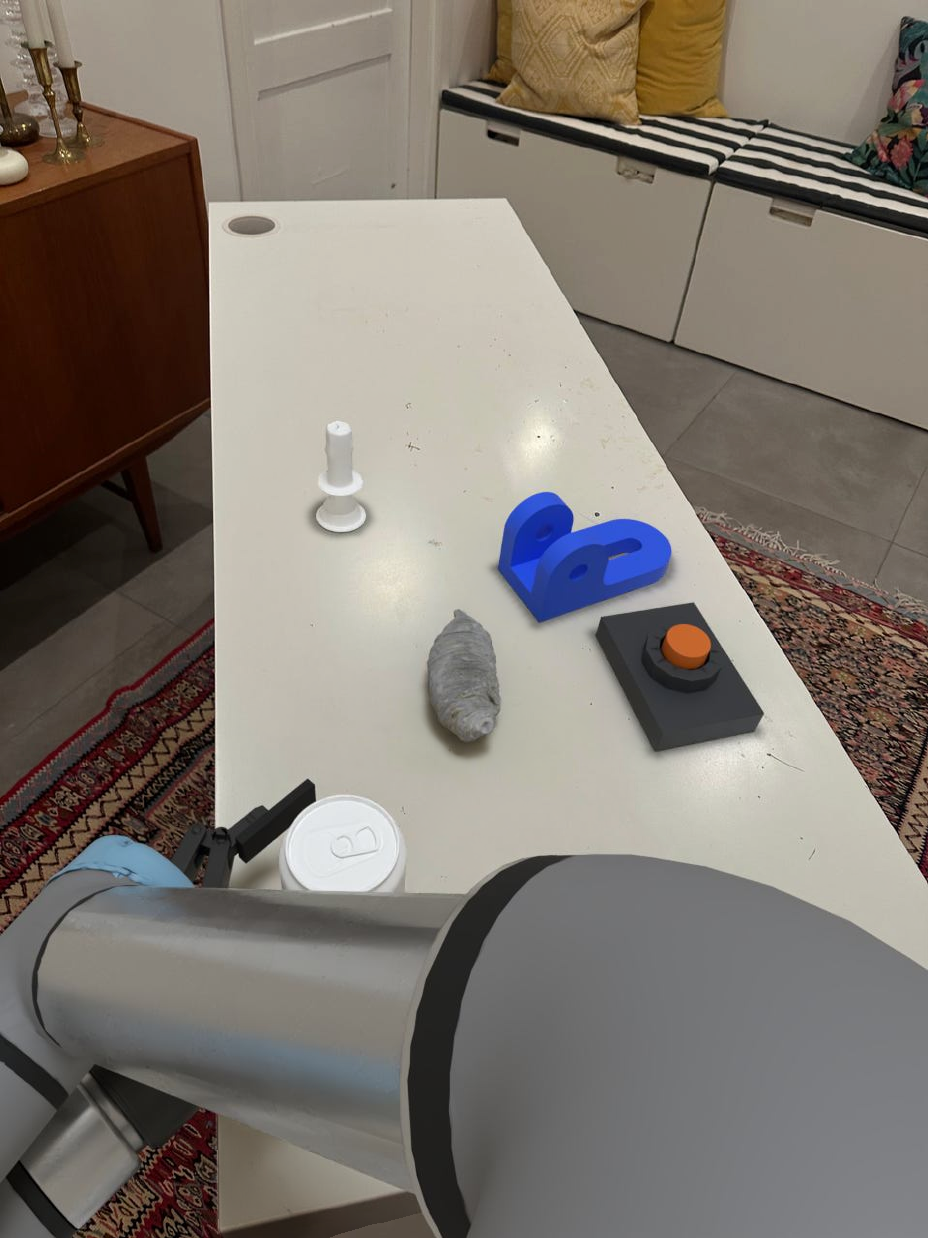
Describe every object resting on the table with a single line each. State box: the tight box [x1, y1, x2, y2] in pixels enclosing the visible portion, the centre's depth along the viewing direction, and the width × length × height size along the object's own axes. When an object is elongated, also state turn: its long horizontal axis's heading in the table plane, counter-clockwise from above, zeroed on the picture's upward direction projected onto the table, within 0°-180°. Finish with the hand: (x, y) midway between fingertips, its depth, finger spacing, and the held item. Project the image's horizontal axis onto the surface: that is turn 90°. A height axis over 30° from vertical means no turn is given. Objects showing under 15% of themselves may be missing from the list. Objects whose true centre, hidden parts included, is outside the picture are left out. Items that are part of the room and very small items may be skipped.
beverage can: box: [278, 794, 408, 893], centre depth 59 cm, size 8×8×12 cm
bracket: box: [497, 491, 672, 624], centre depth 88 cm, size 18×8×9 cm, turn 118°
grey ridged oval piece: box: [426, 608, 502, 743], centre depth 76 cm, size 6×14×8 cm, turn 4°
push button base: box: [595, 601, 765, 752], centre depth 80 cm, size 14×10×4 cm
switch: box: [662, 624, 711, 670], centre depth 78 cm, size 4×4×2 cm
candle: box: [315, 420, 367, 533], centre depth 90 cm, size 5×5×12 cm
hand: (379, 850), depth 60 cm, fingers open, 13 cm apart
